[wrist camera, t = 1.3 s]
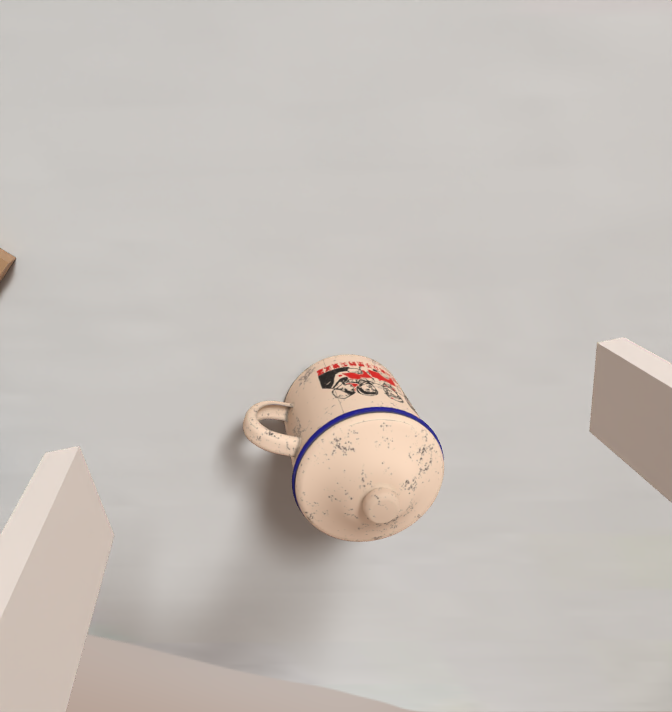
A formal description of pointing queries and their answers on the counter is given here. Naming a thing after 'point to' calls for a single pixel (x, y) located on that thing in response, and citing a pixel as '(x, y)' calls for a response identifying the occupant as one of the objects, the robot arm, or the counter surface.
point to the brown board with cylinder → (5, 262)
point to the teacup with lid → (353, 449)
